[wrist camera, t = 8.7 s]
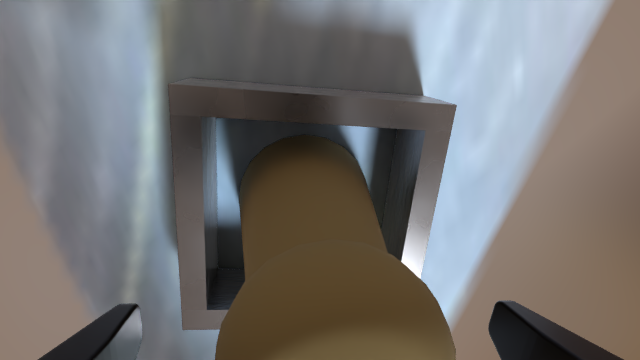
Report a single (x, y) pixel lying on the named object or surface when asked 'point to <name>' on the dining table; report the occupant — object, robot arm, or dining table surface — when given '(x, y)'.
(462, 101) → the dining table surface
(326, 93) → the socket frame
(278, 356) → the cork
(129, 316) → the robot arm
